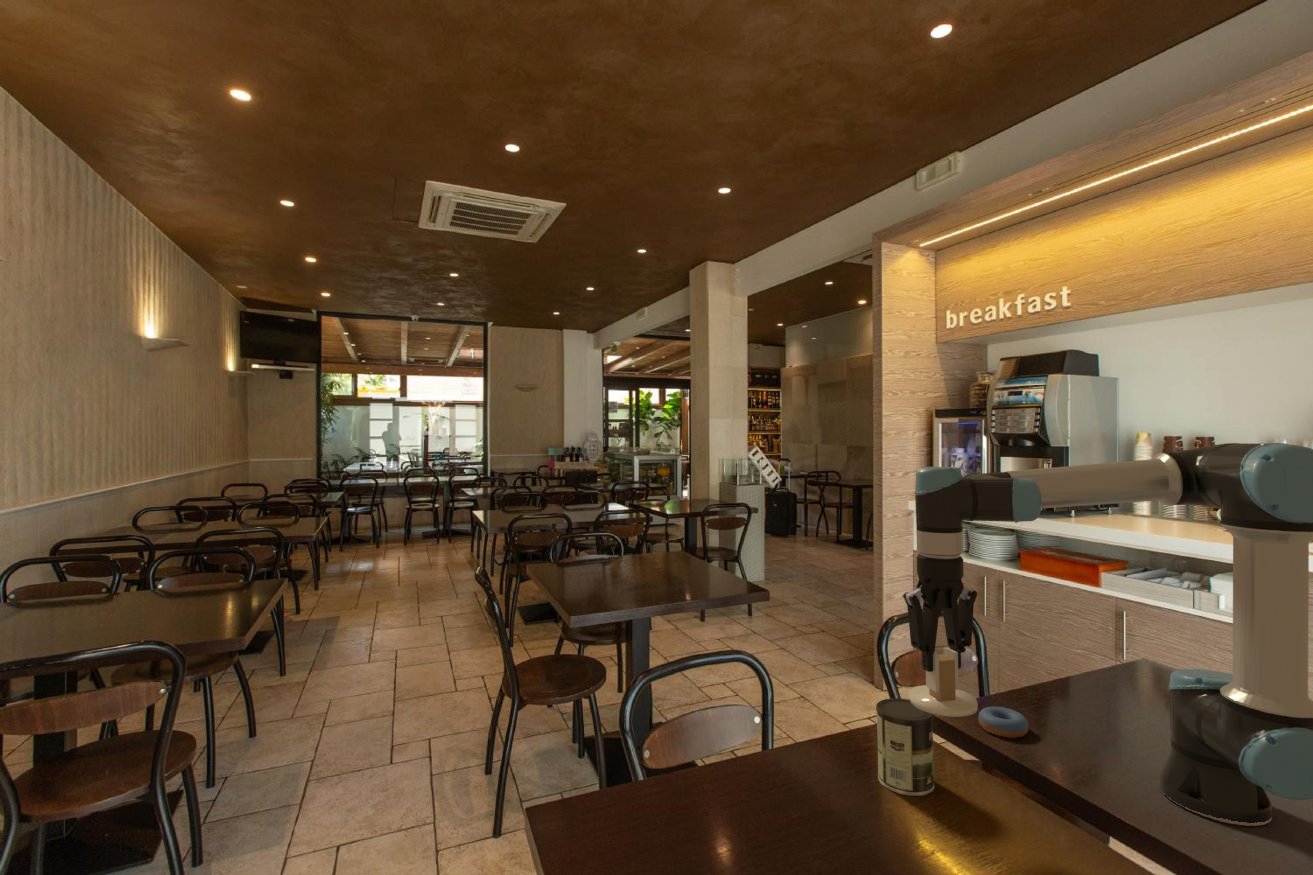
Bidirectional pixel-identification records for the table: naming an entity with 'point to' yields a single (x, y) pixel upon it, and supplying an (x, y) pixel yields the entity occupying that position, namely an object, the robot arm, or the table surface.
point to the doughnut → (1003, 722)
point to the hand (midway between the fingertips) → (942, 687)
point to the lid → (944, 694)
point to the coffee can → (905, 747)
